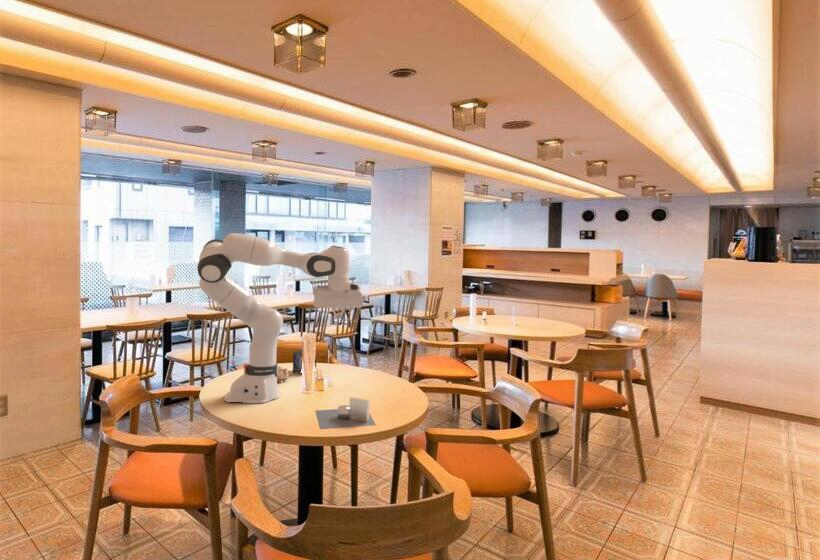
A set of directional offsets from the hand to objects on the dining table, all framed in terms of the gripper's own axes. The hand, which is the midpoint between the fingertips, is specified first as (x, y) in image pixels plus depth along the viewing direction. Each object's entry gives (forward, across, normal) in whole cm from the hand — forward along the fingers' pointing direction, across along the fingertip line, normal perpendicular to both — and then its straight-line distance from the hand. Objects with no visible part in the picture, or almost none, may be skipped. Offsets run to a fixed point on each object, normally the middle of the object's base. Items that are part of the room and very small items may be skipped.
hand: (338, 318), depth 209 cm
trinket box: (+35, -26, +37) cm, 58 cm away
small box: (+35, -10, +50) cm, 62 cm away
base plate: (+35, 0, -23) cm, 42 cm away
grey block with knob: (+34, +3, -25) cm, 42 cm away
